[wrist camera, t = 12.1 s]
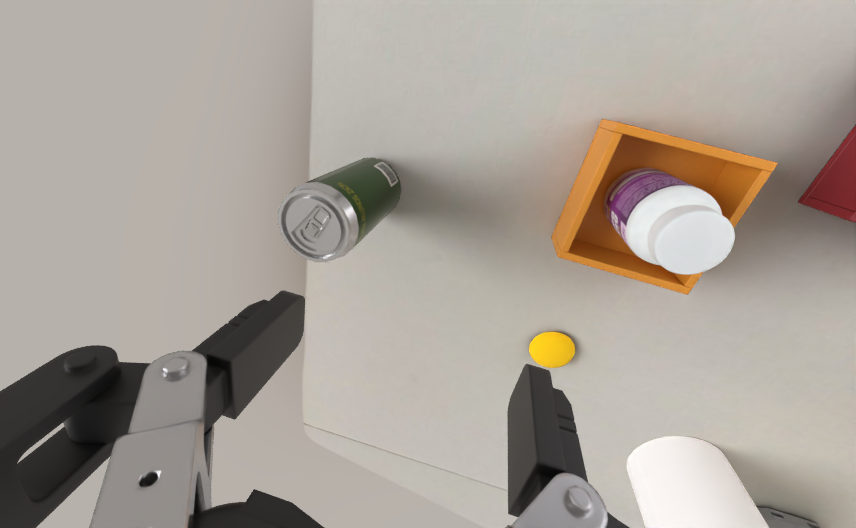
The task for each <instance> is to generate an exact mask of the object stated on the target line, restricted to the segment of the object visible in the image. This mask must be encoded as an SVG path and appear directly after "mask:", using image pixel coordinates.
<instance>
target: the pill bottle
mask: <svg viewBox="0 0 856 528" xmlns="http://www.w3.org/2000/svg"><path fill="white" fill-rule="evenodd" d="M603 207H604V213H605V216H606V217H607V219H608V221H609V222H610V224H611V225H612V226H613V227H614V229H615V230H616V231H617V233H618V234H619V235H620V236H621V237H622V239H623V240H624V241H625V242H626V244H627V245H628V246H629V247H630V249H631V250H632V251H633V252H634V253H635V254H636V255H637V256H638V257H640V258H641V259H643V260H645V261H647V262H649V263H652V264H656V265H661V266H662V267H663V268H665V269H666V270H668V271H670V272H673V273H676V274H683V275H690V274H697V273H701V272H704V271H707V270H709V269H711V268H713V267H715V266H716V265H718V264H719V263H721V262H722V261H723V260H724V259H725V258H726V257H727V255H728V254H729V253H730V251H731V249H732V247H733V244H734V240H735V232H734V229H733V226H732V224H731V223H730V221H729V220H728V219H727V218H726V217H724V216H723V215H722V212H721V209H720V206H719V205H718V203H717V202H716V200H715V199H714V198H713V197H712V196H711V195H710V194H708V193H707V192H705V191H703V190H701V189H700V188H697V187H695V186H693V185H691V184H688V183H686V182H684V181H682V180H680V179H678V178H676V177H674V176H672V175H670V174H668V173H666V172H663V171H661V170H658V169H655V168H638V169H634V170H631V171H628V172H626V173H624V174H623V175H621V176H620V177H619V178H617V179H616V180H615V181H614V182H613V183H612V184H611V186H610V187H609V188H608V190H607V192H606V194H605V197H604V204H603Z"/></svg>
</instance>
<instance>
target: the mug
mask: <svg viewBox="0 0 856 528" xmlns="http://www.w3.org/2000/svg"><path fill="white" fill-rule="evenodd" d="M626 468H627V471H628V474H629V478H630V481H631V484H632V487H633V490H634V493H635V496H636V499H637V502H638V505H639V508H640V511H641V514H642V518H643V521H644V524H645V527H646V528H769V526H768V525H767V523H766V522H765V520H764V518H763V517H762V515H761V513H760V512H759V510H758V509H757V507H756V505H755V504H754V502H753V500H752V499H751V497H750V495H749V494H748V492H747V491H746V489H745V487H744V486H743V484H742V482H741V481H740V479H739V478H738V476H737V474H736V473H735V471H734V469H733V468H732V466H731V464H730V463H729V461H728V460H727V458H726V457H725V455H724V454H723V453H722V452H721V450H720V449H718V448H717V447H715V446H714V445H712V444H710V443H709V442H706V441H703V440H700V439H697V438H693V437H684V436H669V437H660V438H657V439H654V440H650V441H647V442H645V443H643V444H642V445H640V446H639V447H637V448H635V449H634V450H633V452H632V453H631V454H630V456H629V457H628V460H627V465H626Z"/></svg>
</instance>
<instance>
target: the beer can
mask: <svg viewBox="0 0 856 528" xmlns="http://www.w3.org/2000/svg"><path fill="white" fill-rule="evenodd" d="M400 194H401V186H400V181H399V178H398V176H397V174H396V172H395V171H394V170H393V169H392V167H391V166H390V165H389V164H387V163H385V162H384V161H382V160H380V159H376V158H363V159H361V160H359V161H356V162H354V163H351V164H349V165H347V166H344V167H342V168H339V169H337V170H335V171H332V172H330V173H327V174H325V175H323V176H320V177H318V178H316V179H313V180H311V181H308V182H306V183H304V184H302V185H300V186H297V187H295V188H294V189H293V190H292V191H291V193H290V194H289V195H288V196H287V197H286V198H285V199H284V200H283V201H282V202H281V205H280V208H279V211H278V225H279V228H280V232H281V235H282V236H283V238H284V240H285V241H286V243H287V245H288V246H289V247H290V248H291V249H293V251H294V252H295V253H297V254H298V255H300V256H302V257H303V258H305V259H307V260H311V261H314V262H328V261H331V260H334V259H336V258H339V257H342V256H344V255H346V254H347V253H348V252H349V251H350V250H351V249H352V248H354V247H355V246H356V245H357V244H358V243H359V242H360V241H361V240H362V239H363V238H364V237H365V236H366V235H367V234H368V233H369V232H370V231H371V230H372V229H373V228H374V227H375V226H376V225H377V224H378V223H379V222H380V221H381V220H382V219H383V218H384V217H385V216H386V215H387V214H388V213H390V212H391V211H392V210H393V209H394V208H395V207H396V205H397V203H398V201H399V199H400Z"/></svg>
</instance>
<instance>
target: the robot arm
mask: <svg viewBox="0 0 856 528" xmlns="http://www.w3.org/2000/svg"><path fill="white" fill-rule="evenodd" d="M304 313H305V298H304V297H303V296H301V295H297V294H294V293H290V292H287V291H281V292H279V293H278V294H277V295H276V296H274V297H273V298H272V299H271V300H270V301H267V300H262V301H259V302H257V303H254V304H252V305H250V306H248V307H247V308H245V309H244V310H243V311H242V312H240V313H239V314H238V316H235V317H234V318H233V319H231V320H230V321H229V323H228V324H225V325H224V326H223V327H221V328H220V329H219V330H218V331H216V332H215V333H214V334H212V335H211V336H210V337H209V338H207V339H206V340H205V341H204V342H202V343H201V344H200V345H199V346H197V347H196V348H195V349H194V350H192V351H178V352H173V353H169V354H167V355H164V356H162V357H160V358H158V359H156V360H155V361H153V362H152V363H149V364H148V363H126V362H119V361H118V357H117V354H116V352H115V351H114V350H113V349H112V348H110V347H106V346H86V347H81V348H77V349H74V350H71V351H68V352H66V353H63V354H61V355H59V356H58V357H56V358H54V359H53V360H51V361H49V362H48V363H46V364H45V365H43V366H41V367H39V368H38V369H36V370H35V371H33V372H31V373H30V374H28V375H26V376H25V377H23V378H21V379H20V380H18V381H17V382H15V383H13V384H12V385H10V386H8V387H7V388H5V389H3V390H2V391H0V528H36V527H37V526H38V525H39V524H40V523H41V522H42V521H43V520H44V519H45V518H46V517H47V516H48V515H49V514H50V513H52V512H53V511H54V510H55V509H56V508H57V507H58V506H59V505H60V504H61V503H62V502H63V501H64V500H65V499H66V498H67V497H68V496H69V495H70V494H71V493H72V492H73V491H74V490H75V489H76V488H77V487H78V486H80V484H82V483H83V482H84V480H86V479H87V478H88V477H89V476H90V475H91V474H92V473H93V472H94V471H95V470H96V469H97V468H98V467H99V466H100V465H101V464H102V463H103V462H104V461H105V460H106V459H108V458H109V457H110V456H111V457H110V460H109V463H108V467H107V470H106V473H105V477H104V480H103V483H102V487H101V490H100V494H99V497H98V500H97V503H96V507H95V510H94V513H93V517H92V520H91V523H90V527H89V528H324V527H322V526H321V525H320V524H319V523H317V522H316V521H315V520H313V519H312V518H311V517H310V516H308V515H307V514H306V513H305V512H303V511H302V510H301V509H299V508H298V507H297V506H296V505H294V504H293V503H291V502H289V501H286V500H283V499H280V498H277V497H275V496H272V495H269V494H266V493H263V492H260V491H258V490H255V489H254V490H253V492H252V493H251V495H250V496H249V498H248V499H247V501H246V502H238V503H229V504H224V505H219V506H216V507H213V508H212V507H211V506H212V505H211V476H212V457H213V440H214V423H215V422H216V421H217V420H218V419H219V418H220V417H221V415H223V416H226V417H229V418H232V419H236V418H237V417H238V415H239V414H240V413H241V412H242V411H243V409H244V408H245V407H246V406H247V405H248V404H249V403H250V401H251V400H252V399H253V398H254V397H255V396H256V394H257V393H258V392H259V391H260V390H261V388H262V387H263V386H264V385H265V384H266V383H267V381H268V380H269V379H270V378H271V377H272V376H273V374H274V373H275V372H276V371H277V370H278V369H279V367H280V366H281V365H282V364H283V363H284V362H285V360H286V359H287V358H288V357H289V356H290V354H291V353H292V352H293V351H294V350H295V349H296V347H297V346H298V344H299V343H300V341H301V338H302V335H303V331H304ZM61 423H64V426H65V427H63V428H62V429H61V430H60V431H58V432H57V433H56V434H54V435H53V436H52V437H51V438H49V439H48V440H47V441H46V442H44V443H43V444H42V445H41V446H40V447H38V448H37V449H36V450H34V451H33V452H32V453H30V454H29V455H28V456H27V457H25V458H24V459H23V460H21V461H20V462H19V463H18V464H17V462H18V461H19V459H20V457H21V456H22V455H23V454H24V453H25V452H26V451H27V450H28V449H29V448H30V447H32V446H33V445H34V444H35V443H36V442H38V441H39V440H41V439H42V438H43V437H45V436H46V435H47V434H48V433H50V432H51V431H52V430H53V429H55V428H56V427H57V426H59V425H60V424H61ZM576 432H577V430H576V425H575V422H574V416H573V411H572V407H571V404H570V402H569V401H568V399H567V398H566V396H565V395H564V393H563V391H561V390H558V389H555V388H553V386H552V380H551V374H550V371H549V370H546V369H543V368H539V367H536V366H532V365H529V364H526V365H525V366H524V368H523V370H522V373H521V375H520V377H519V379H518V382H517V384H516V386H515V388H514V391H513V393H512V395H511V398H510V402H509V406H508V514H510V515H513V516H516V517H518V519H517V520H516V521H515V522H514V523H513V524H512V525H511V526H510V525H508V526H507V527H506V528H629V527H628V526H626V525H625V524H623V523H621V522H620V521H618V520H617V519H616V518H614V517H613V516H612V515H611V514H609V513H608V512H607V509H606V507H605V504H604V502H603V500H602V498H601V497H600V495H599V494H598V492H597V491H596V490H595V489H594V488H593V487H592V486H591V485H590V484H589V483H588V480H587V476H586V471H585V467H584V462H583V457H582V453H581V448H580V444H579V439H578V434H576Z"/></svg>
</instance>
